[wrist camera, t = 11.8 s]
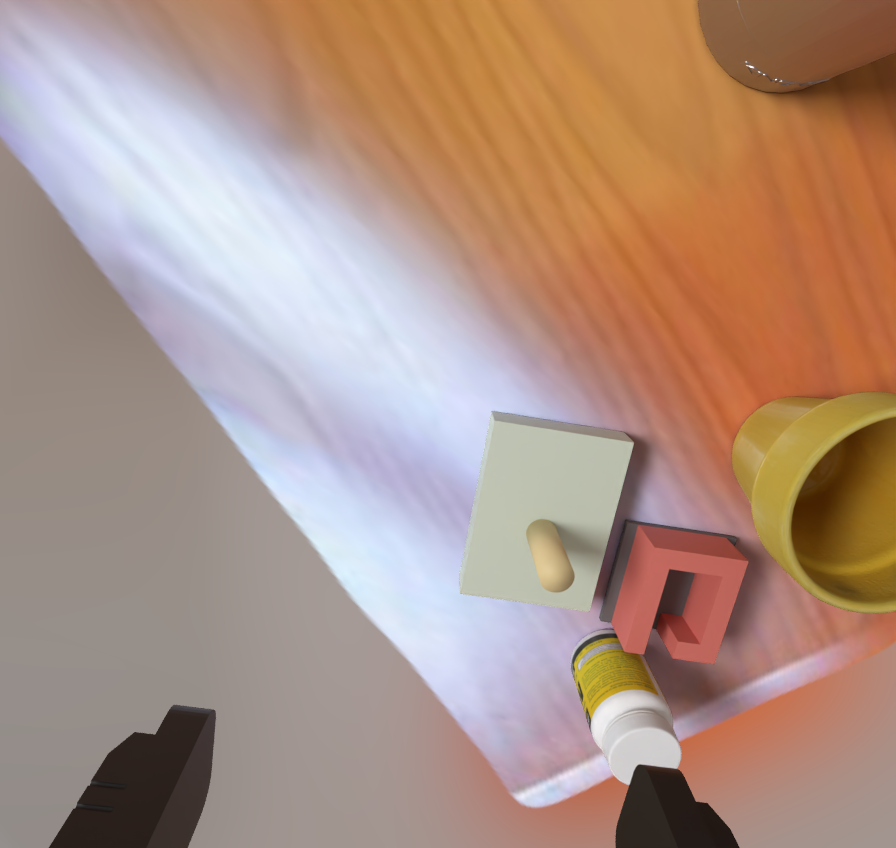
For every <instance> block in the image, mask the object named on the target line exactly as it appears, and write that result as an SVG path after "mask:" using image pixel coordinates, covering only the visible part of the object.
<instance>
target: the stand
mask: <svg viewBox="0 0 896 848" xmlns="http://www.w3.org/2000/svg"><path fill="white" fill-rule="evenodd" d="M633 445H634V442H633V441H632V440H631V439H630V438H629V437H628V436H627V435H626V434H625V433H624V432H620V431H614V430H607V429H601V428H595V427H588V426H582V425H576V424H570V423H563V422H557V421H551V420H545V419H538V418H532V417H526V416H520V415H513V414H507V413H501V412H495V411H491V416H490V421H489V426H488V431H487V436H486V442H485V447H484V452H483V457H482V462H481V467H480V472H479V477H478V482H477V487H476V493H475V498H474V503H473V508H472V513H471V518H470V523H469V528H468V533H467V539H466V544H465V549H464V554H463V559H462V564H461V569H460V574H459V584H460V594H465V595H472V596H479V597H487V598H494V599H501V600H508V601H515V602H522V603H530V604H537V605H544V606H551V607H558V608H565V609H572V610H580V611H587V612H589V611H590V607H591V604H592V600H593V596H594V592H595V588H596V585H597V581H598V577H599V573H600V570H601V566H602V562H603V558H604V554H605V551H606V547H607V543H608V539H609V536H610V532H611V528H612V524H613V521H614V517H615V513H616V509H617V505H618V502H619V498H620V494H621V490H622V487H623V483H624V479H625V475H626V471H627V468H628V464H629V460H630V456H631V453H632V449H633Z"/></svg>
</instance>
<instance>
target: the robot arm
mask: <svg viewBox="0 0 896 848" xmlns="http://www.w3.org/2000/svg"><path fill="white" fill-rule="evenodd" d="M698 8H699V17H700V25H701V28H702V31H703V34H704V37H705V40H706V43H707V46H708V47H709V49H710V51H711V53H712V54H713V56H714V58H715V59H716V61H717V62H718V63H719V65H720V66H721V67H722V68H723V69H724V70H725V71H726V72H727V73H728V74H729V75H730V76H731V77H733V78H735V79H736V80H738V81H739V82H741V83H742V84H744V85H745V86H748V87H751V88H754V89H757V90H760V91H765V92H778V93H783V92H790V91H796V90H801V89H804V88H806V87H809V86H811V85H814V84H818V83H822V82H825V81H828V80H830V78H832V77H835V76H837V75H840V74H842V73H845V72H848V71H850V70H853V69H856V68H859V67H861V66H864V65H866V64H869V63H871V62H874V61H876V60H879V59H881V58H884V57H886V56H889V55H891V54H894V53H896V0H698ZM215 720H216V713H215V710H211V709H204V708H196V707H187V706H180V705H173V706H172V707H171V709H170V710H169V711H168V713H167V715H166V717H165V718H164V720H163V722H162V724H161V726H160V727H159V729H158V731H157V733H156V734H155V735H153V734H145V733H137V732H134V733H133V734H132V735H131V736H130V737H128V738H127V739H126V740H125V741H123V742H122V743H121V744H120V745H118V746H117V747H116V748H115V749H114V750H112V751H111V752H110V753H109V754H108V755H107V757H106V758H105V760H104V761H103V763H102V765H101V766H100V768H99V769H98V771H97V773H96V774H95V776H94V777H93V779H92V780H91V784H90V786H88V787H87V788H86V790H85V791H84V793H83V795H82V796H81V798H80V799H79V801H78V802H77V806H76V808H75V809H73V810H72V812H71V814H70V815H69V817H68V818H67V820H66V821H65V823H64V825H63V826H62V828H61V829H60V831H59V832H58V834H57V836H56V837H55V839H54V841H53V842H52V844H51V845H50V847H49V848H188V845H189V843H190V841H191V838H192V836H193V833H194V831H195V828H196V826H197V823H198V821H199V818H200V816H201V813H202V810H203V807H204V804H205V801H206V797H207V793H208V789H209V784H210V778H211V770H212V757H213V745H214V732H215ZM616 848H739V846H738V844H737V842H736V840H735V838H734V836H733V834H732V832H731V830H730V828H729V827H728V826H727V825H726V824H725V823H724V821H723V820H722V819H721V818H720V817H719V816H718V815H717V814H716V813H715V811H714V810H713V809H712V808H711V807H710V806H709V805H708V803H702V802H696V801H695V799H694V797H693V795H692V792H691V790H690V788H689V786H688V784H687V782H686V780H685V777H684V776H683V774H682V772H681V771H680V770H678V769H675V768H667V767H659V766H651V765H643V764H639V765H637V766H636V768H635V770H634V772H633V775H632V778H631V782H630V785H629V788H628V791H627V794H626V798H625V801H624V804H623V807H622V810H621V814H620V817H619V820H618V823H617V828H616Z"/></svg>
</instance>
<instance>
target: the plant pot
mask: <svg viewBox="0 0 896 848" xmlns="http://www.w3.org/2000/svg"><path fill="white" fill-rule="evenodd" d="M732 466H733V471H734V474H735V477H736V479H737V481H738V482H739V484H740V486H741V488H742V490H743V491H744V493H745V495H746V497H747V498H748V500H749V502H750V504H751V505H752V516H753V521H754V525H755V528H756V531H757V534H758V536H759V538H760V540H761V542H762V544H763V545H764V547H765V548H766V550H767V551H768V552H769V553H770V555H771V556H772V557H773V558H774V559H775V560H776V561H777V563H778V564H779V565H780V566H781V567H782V568H783V569H784V570H785V571H786V572H787V573H788V574H789V575H790V576H791V577H792V578H793V579H794V580H795V581H796V582H797V583H798V584H800V585H801V586H802V587H803V588H804V589H805V590H806V591H808V592H809V593H810V594H812V595H813V596H814V597H816V598H818V599H819V600H821V601H823V602H825V603H827V604H829V605H832V606H834V607H837V608H840V609H844V610H847V611H852V612H859V613H888V612H894V611H896V394H893V393H886V392H860V393H854V394H849V395H844V396H841V397H837V398H834V399H823V398H808V397H786V398H781V399H777V400H774V401H771V402H769V403H767V404H765V405H763V406H762V407H760V408H759V409H757V410H756V411H755V412H754V413H753V414H752V415H750V416H749V418H748V419H747V420H746V421H745V422H744V424H743V425H742V427H741V428H740V430H739V432H738V434H737V436H736V438H735V441H734V444H733V449H732Z"/></svg>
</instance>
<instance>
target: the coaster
mask: <svg viewBox="0 0 896 848" xmlns="http://www.w3.org/2000/svg"><path fill="white" fill-rule="evenodd" d="M638 524H639V525H645V526H652V527H659V528H665V529H672V530H679V531H685V532H692V533H699V534H705V535H712V536H719V537H725V538H727V539H728V540H729V541H730V542H731V543H732V544H733V546H735V543H736V540H737V539H736V538H735V537H734V536H730V535H723V534H717V533H710V532H703V531H697V530H690V529H683V528H677V527H670V526H663V525H657V524H650V523H643V522H637V521H630V520H626V521H625V524H624V528H623V532H622V535H621V539H620V543H619V547H618V550H617V554H616V558H615V561H614V565H613V569H612V572H611V576H610V580H609V583H608V587H607V591H606V595H605V598H604V602H603V606H602V609H601V613H600V617H599V618H600V620H601V621H604V622H611V621H612V618H613V614H614V611H615V607H616V603H617V600H618V596H619V592H620V589H621V585H622V582H623V578H624V574H625V571H626V567H627V564H628V560H629V556H630V553H631V549H632V545H633V542H634V538H635V535H636V531H637V527H638ZM694 575H695V573H693V572H686V571H679V570H672V569H669V572H668V575H667V579H666V582H665V585H664V589H663V592H662V595H661V599H660V602H659V605H658V609H657V612H656V616H655V619H654V622H653V626H652V628H654V629H656V628H657V624H658V621H659V618H660V614H661V613H665V614H672V615H679V616H682V614H683V611H684V608H685V604H686V601H687V598H688V595H689V592H690V588H691V585H692V582H693V579H694Z"/></svg>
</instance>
